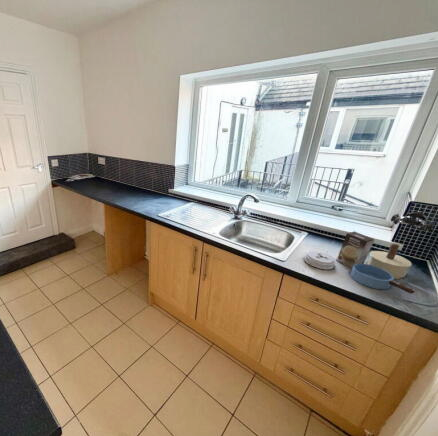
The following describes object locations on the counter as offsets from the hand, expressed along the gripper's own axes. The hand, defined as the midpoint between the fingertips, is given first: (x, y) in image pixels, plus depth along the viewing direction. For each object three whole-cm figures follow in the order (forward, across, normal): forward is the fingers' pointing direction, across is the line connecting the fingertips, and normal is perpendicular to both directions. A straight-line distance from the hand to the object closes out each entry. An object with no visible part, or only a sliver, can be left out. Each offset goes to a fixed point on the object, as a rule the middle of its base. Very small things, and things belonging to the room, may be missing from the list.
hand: (408, 225), depth 114 cm
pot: (+10, 0, +22) cm, 24 cm away
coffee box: (+18, -12, +21) cm, 30 cm away
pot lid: (+10, 0, +15) cm, 18 cm away
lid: (+30, -21, +21) cm, 42 cm away
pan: (+27, +2, +21) cm, 34 cm away
